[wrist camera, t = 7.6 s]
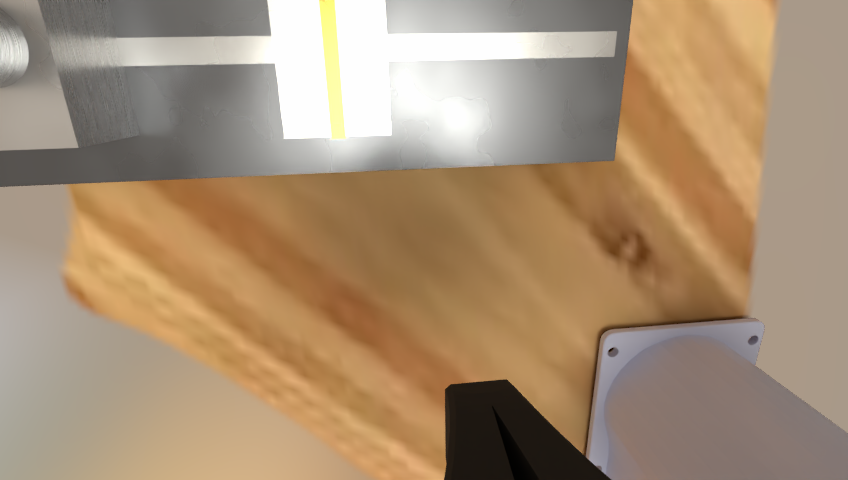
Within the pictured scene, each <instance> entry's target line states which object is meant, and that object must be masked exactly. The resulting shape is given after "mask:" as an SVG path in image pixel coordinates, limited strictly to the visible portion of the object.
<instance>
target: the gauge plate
mask: <svg viewBox="0 0 848 480" xmlns="http://www.w3.org/2000/svg"><path fill="white" fill-rule="evenodd" d="M632 6H633V0H385V9H386V31H387V52H388V74H389V95H390V117H391V135H374V136H347V137H346V138H345V139H331V137H317V138H288V139H285V138H284V130H283V122H282V114H281V106H280V98H279V90H278V82H277V74H276V66H275V58H274V50H273V42H272V34H271V26H270V18H269V10H268V2H267V0H0V187H5V186H6V187H7V186H30V185H54V184H78V183H101V182H125V181H148V180H172V179H195V178H219V177H242V176H266V175H289V174H313V173H336V172H360V171H383V170H407V169H430V168H454V167H477V166H501V165H524V164H548V163H571V162H595V161H614V158H615V150H616V141H617V133H618V124H619V116H620V108H621V99H622V91H623V82H624V74H625V65H626V57H627V48H628V40H629V31H630V23H631V14H632Z"/></svg>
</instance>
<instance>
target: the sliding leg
mask: <svg viewBox="0 0 848 480" xmlns="http://www.w3.org/2000/svg"><path fill="white" fill-rule="evenodd" d="M267 2H268V10H269V18H270V26H271V34H272V42H273V50H274V58H275V66H276V74H277V82H278V90H279V98H280V106H281V114H282V122H283V130H284V138H285V139H288V138H317V137H331V139H345V138H346V137H347V136H374V135H391V117H390V95H389V74H388V52H387V31H386V9H385V0H267Z"/></svg>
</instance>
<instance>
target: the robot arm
mask: <svg viewBox="0 0 848 480" xmlns="http://www.w3.org/2000/svg"><path fill="white" fill-rule="evenodd" d="M764 328H765V327H764V324H763V323H762V322H760V321H759V320H757V319H755V318H746V319H734V320H722V321H709V322H697V323H684V324H672V325H660V326H647V327H635V328H622V329H611V330H608V331H606V332H605V333H604V334H603V335H602V336H601V339H600V346H599V354H598V362H597V371H596V379H595V387H594V395H593V403H592V411H591V419H590V427H589V435H588V443H587V451H586V457H585V456H584V455H583V454H582V453H581V452H580V451H579V450H578V449H576V448H575V447H574V446H573V445H572V444H571V443H570V442H569V441H568V440H567V439H566V438H565V437H564V436H563V435H562V434H560V433H559V432H558V431H557V430H556V429H555V428H554V427H553V426H552V425H551V424H550V423H549V422H548V421H547V420H546V419H545V418H544V417H543V416H542V415H541V414H540V413H539V412H538V411H537V410H536V409H535V408H534V407H533V406H532V405H531V404H530V403H529V402H528V401H527V399H526V398H525V397H524V396H523V395H522V394H521V393H520V392H519V391H518V390H517V389H516V388H515V387H514V386H513V385H512V384H511V383H510V382H509V381H508V380H507V379H506V380H495V381H484V382H473V383H462V384H451V385H449V386H448V387H447V388H446V389H445V427H446V462H447V465H446V472H445V478H444V480H848V433H846V432H845V431H844V430H843V429H841V428H840V427H838V426H837V425H836V424H834V423H833V422H832V421H830V420H829V419H828V418H826V417H825V416H823V415H822V414H821V413H819V412H818V411H817V410H815V409H814V408H812V407H811V406H810V405H808V404H807V403H806V402H804V401H803V400H801V399H800V398H799V397H797V396H796V395H794V394H793V393H792V392H790V391H789V390H788V389H786V388H785V387H784V386H782V385H781V384H780V383H778V382H777V381H775V380H774V379H773V378H771V377H770V376H769V375H767V374H766V373H764V372H763V371H762V370H760V369H759V368H758V367H756V366H755V364H756V360H757V356H758V352H759V349H760V345H761V341H762V337H763V333H764ZM750 337H751V338H750ZM749 338H750V339H749ZM613 347H614V349H613V350H612V351H611V352H608V351H609V349H611V348H613Z"/></svg>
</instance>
